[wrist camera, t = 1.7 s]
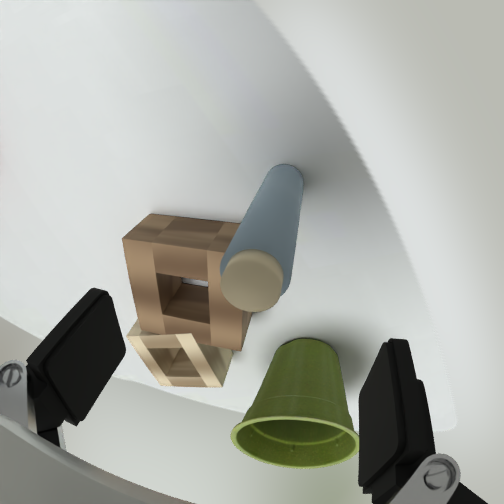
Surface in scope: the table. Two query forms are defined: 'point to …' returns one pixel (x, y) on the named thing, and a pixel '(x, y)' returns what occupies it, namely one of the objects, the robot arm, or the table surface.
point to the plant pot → (299, 411)
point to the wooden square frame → (170, 282)
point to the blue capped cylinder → (264, 243)
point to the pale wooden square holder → (180, 359)
